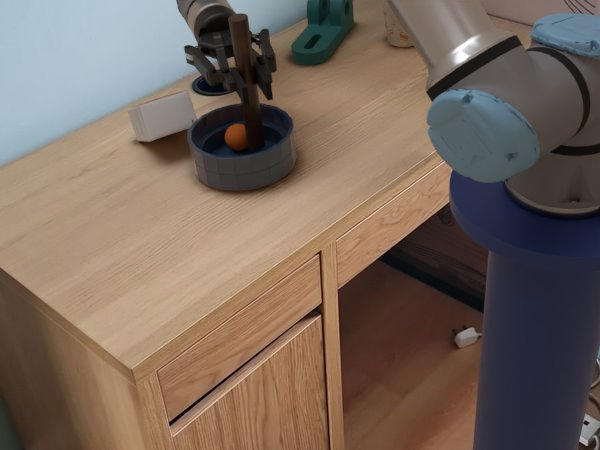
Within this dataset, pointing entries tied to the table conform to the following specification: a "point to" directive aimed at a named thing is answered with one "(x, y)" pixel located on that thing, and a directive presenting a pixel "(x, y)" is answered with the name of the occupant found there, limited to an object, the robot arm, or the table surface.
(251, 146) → the stick
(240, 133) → the ball
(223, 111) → the bowl
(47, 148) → the table surface
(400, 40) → the mug
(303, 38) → the bracket
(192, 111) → the small box
